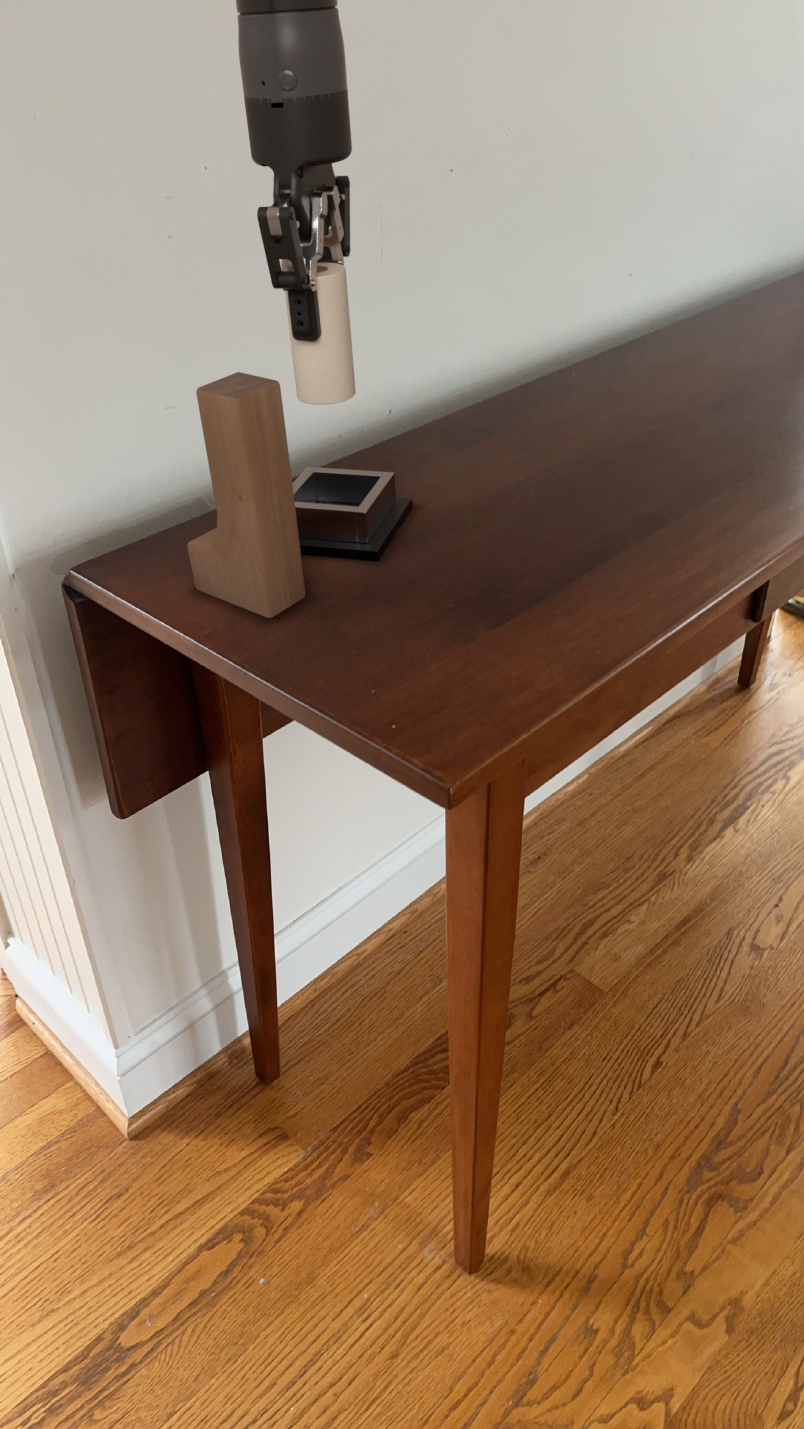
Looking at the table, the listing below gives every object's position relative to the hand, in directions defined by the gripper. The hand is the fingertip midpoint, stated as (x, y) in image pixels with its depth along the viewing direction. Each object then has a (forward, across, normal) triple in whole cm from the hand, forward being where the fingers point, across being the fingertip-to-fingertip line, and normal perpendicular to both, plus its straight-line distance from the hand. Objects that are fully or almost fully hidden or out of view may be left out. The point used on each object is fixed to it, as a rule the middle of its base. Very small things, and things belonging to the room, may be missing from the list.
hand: (319, 328), depth 84 cm
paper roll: (+5, 0, 0) cm, 5 cm away
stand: (+18, 0, 0) cm, 18 cm away
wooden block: (+18, +13, -3) cm, 23 cm away
